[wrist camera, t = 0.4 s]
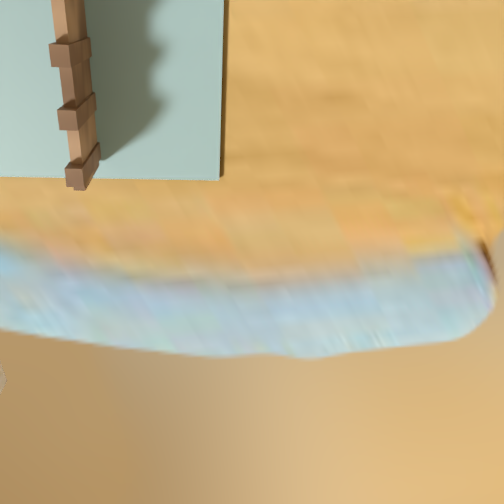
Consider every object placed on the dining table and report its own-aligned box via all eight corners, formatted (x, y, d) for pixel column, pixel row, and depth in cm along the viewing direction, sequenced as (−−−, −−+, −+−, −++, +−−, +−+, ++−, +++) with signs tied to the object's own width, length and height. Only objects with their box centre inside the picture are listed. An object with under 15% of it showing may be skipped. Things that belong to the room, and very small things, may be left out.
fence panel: (66, -36, 25) (37, -44, 21) (83, -35, 26) (58, -43, 21) (87, 165, 30) (67, 195, 26) (101, 165, 31) (85, 195, 26)
